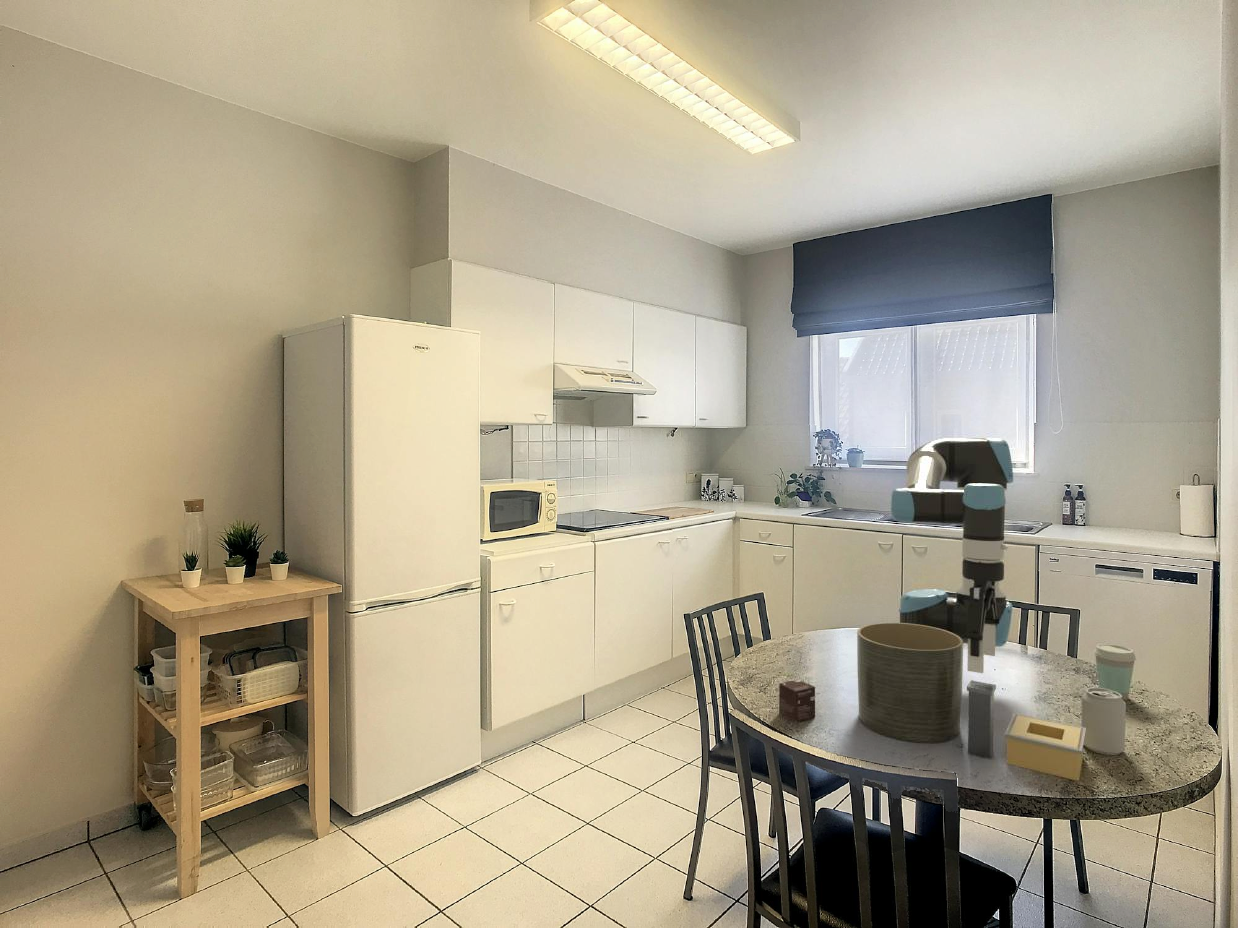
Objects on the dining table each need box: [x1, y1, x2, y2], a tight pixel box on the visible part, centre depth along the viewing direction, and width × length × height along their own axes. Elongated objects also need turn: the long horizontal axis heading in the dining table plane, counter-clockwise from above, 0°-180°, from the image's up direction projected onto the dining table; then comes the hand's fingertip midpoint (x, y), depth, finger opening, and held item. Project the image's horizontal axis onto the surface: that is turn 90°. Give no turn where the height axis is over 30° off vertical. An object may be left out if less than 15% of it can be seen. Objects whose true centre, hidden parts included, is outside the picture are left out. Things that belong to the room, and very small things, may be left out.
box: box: [778, 679, 816, 723], centre depth 162 cm, size 6×6×7 cm
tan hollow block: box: [1004, 712, 1086, 782], centre depth 138 cm, size 13×13×6 cm
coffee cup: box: [1093, 643, 1137, 701], centre depth 172 cm, size 8×9×12 cm
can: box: [1080, 687, 1127, 756], centre depth 143 cm, size 8×8×12 cm
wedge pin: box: [966, 680, 997, 760], centre depth 142 cm, size 5×5×14 cm
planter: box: [856, 622, 964, 744], centre depth 157 cm, size 22×22×20 cm
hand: (981, 662), depth 141 cm, fingers open, 13 cm apart
